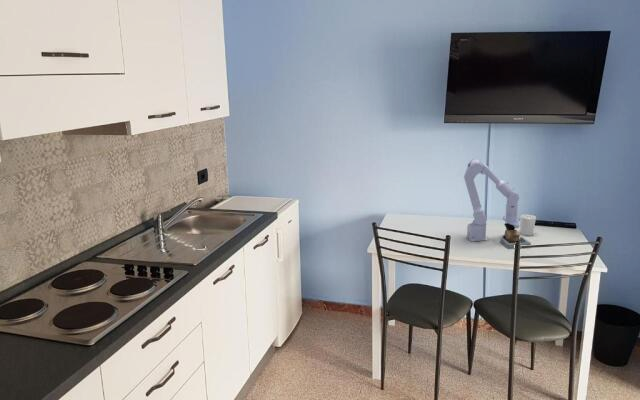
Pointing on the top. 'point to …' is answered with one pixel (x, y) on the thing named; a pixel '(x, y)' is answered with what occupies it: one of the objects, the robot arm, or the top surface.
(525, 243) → the bay
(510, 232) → the tan rounded lump
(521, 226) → the white cup
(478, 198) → the robot arm
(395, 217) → the top surface
